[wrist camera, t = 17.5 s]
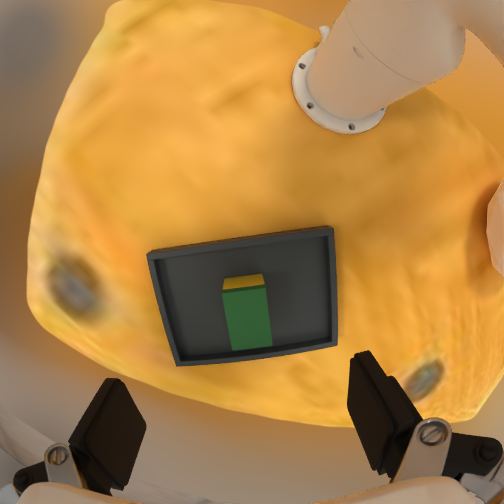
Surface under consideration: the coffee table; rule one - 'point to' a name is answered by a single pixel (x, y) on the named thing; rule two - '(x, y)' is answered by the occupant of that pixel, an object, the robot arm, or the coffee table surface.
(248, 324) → the sponge
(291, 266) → the tray
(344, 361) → the coffee table surface
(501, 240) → the geometric sphere
